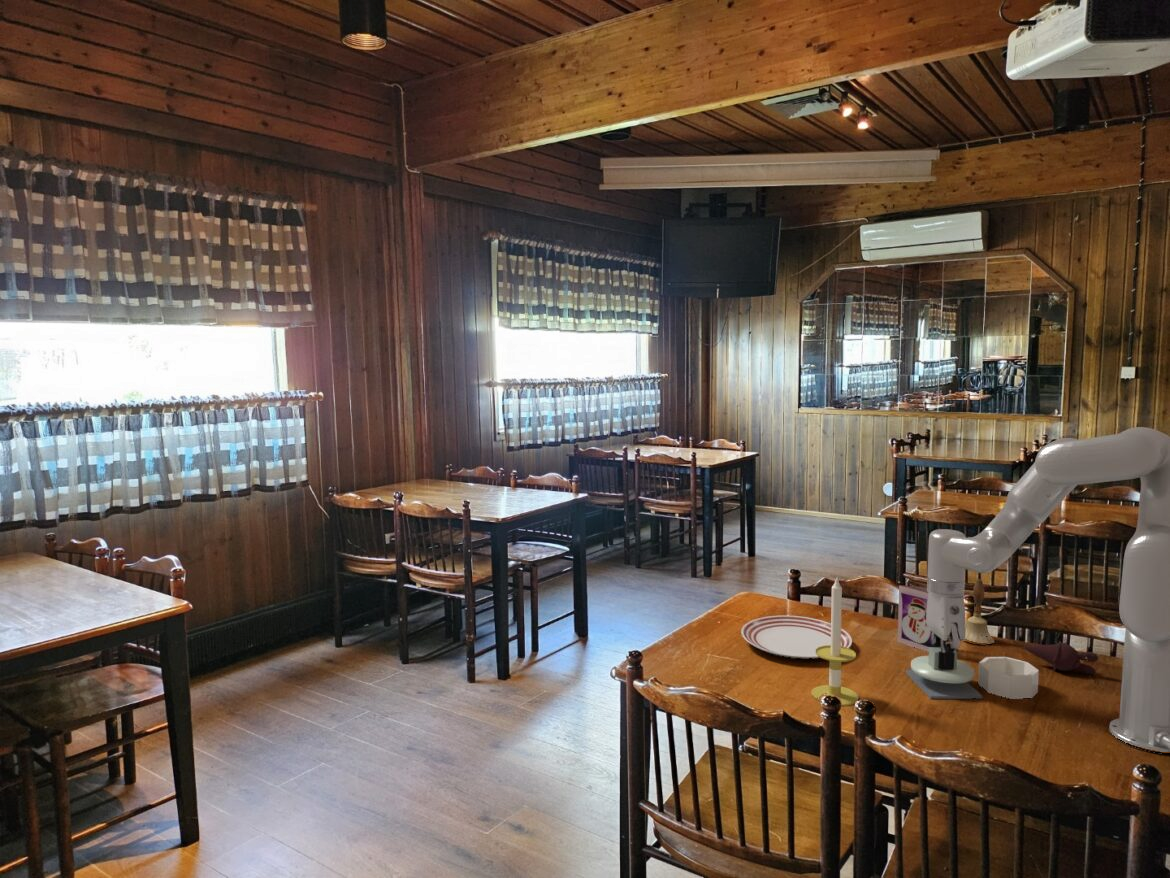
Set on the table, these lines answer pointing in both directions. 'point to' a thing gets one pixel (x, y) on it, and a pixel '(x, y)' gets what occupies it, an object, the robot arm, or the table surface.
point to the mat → (944, 688)
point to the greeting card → (913, 618)
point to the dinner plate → (791, 635)
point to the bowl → (1008, 677)
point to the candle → (836, 654)
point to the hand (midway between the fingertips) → (942, 664)
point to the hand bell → (978, 619)
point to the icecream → (1064, 657)
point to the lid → (930, 670)
